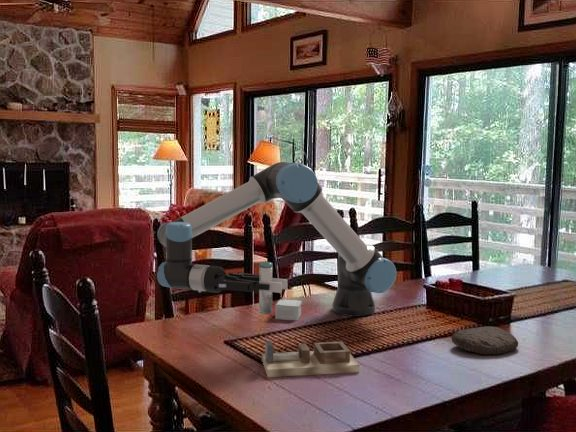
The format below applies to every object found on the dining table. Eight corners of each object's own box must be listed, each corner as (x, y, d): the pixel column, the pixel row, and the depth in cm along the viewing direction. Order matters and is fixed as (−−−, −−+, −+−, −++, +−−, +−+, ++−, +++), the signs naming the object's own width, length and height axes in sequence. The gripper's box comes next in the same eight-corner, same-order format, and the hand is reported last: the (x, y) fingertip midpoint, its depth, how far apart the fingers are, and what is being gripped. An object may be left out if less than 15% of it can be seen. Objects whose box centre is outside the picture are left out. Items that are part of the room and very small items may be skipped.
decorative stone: (480, 361, 167) (481, 344, 166) (442, 346, 179) (443, 330, 178) (526, 350, 177) (527, 333, 176) (488, 336, 189) (489, 321, 188)
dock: (346, 356, 170) (347, 337, 169) (359, 372, 158) (359, 352, 157) (261, 360, 165) (261, 341, 165) (267, 377, 154) (268, 356, 153)
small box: (297, 321, 203) (297, 306, 203) (274, 319, 205) (274, 304, 204) (301, 314, 211) (301, 300, 210) (279, 313, 212) (279, 299, 212)
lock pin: (297, 356, 163) (297, 339, 162) (299, 361, 159) (299, 344, 158) (265, 358, 161) (265, 341, 161) (267, 362, 158) (267, 345, 157)
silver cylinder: (271, 310, 172) (271, 261, 170) (272, 313, 168) (273, 264, 167) (258, 310, 171) (258, 262, 170) (260, 314, 168) (260, 264, 166)
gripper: (221, 285, 183) (294, 292, 175) (194, 298, 168) (272, 306, 160) (221, 260, 182) (294, 267, 174) (194, 271, 167) (273, 278, 159)
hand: (284, 286), depth 167 cm, fingers closed on silver cylinder, 3 cm apart
